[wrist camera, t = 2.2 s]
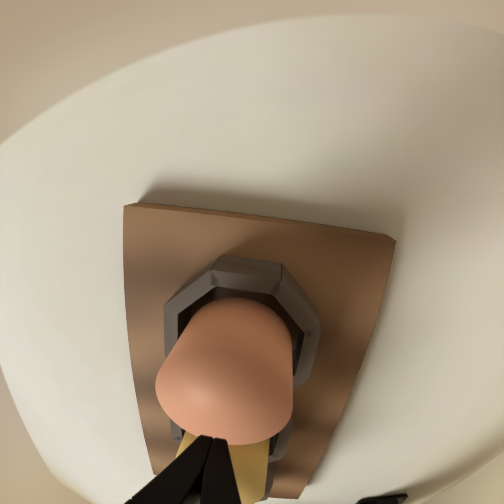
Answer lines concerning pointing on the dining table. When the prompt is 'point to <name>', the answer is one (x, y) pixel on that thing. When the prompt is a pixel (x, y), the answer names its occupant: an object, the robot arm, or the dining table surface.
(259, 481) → the button ochre
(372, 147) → the dining table surface
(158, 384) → the button terracotta
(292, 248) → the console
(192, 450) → the robot arm
